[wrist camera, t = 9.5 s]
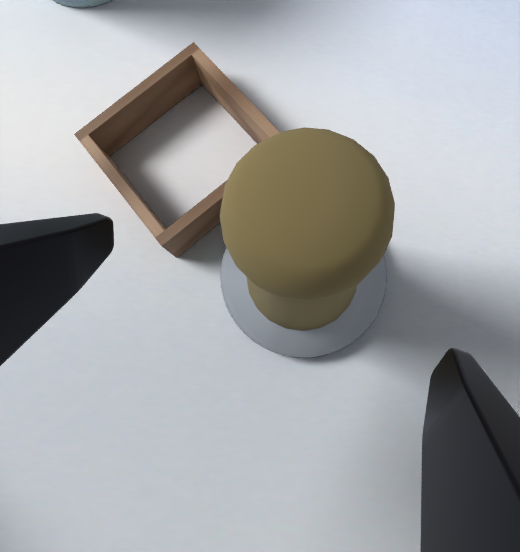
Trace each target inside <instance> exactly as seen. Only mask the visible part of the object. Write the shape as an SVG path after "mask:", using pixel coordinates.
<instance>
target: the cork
mask: <svg viewBox="0 0 520 552" xmlns="http://www.w3.org/2000/svg"><path fill="white" fill-rule="evenodd" d="M394 208H395V203H394V199H393V195H392V191H391V187H390V183H389V179H388V177H387V175H386V174H385V172H384V171H383V169H382V168H381V166H380V164H379V163H378V161H377V160H376V158H375V157H374V156H373V155H372V154H371V153H369V152H368V151H367V150H366V149H364V148H363V147H362V146H361V145H359V144H358V143H357V142H356V141H354V140H353V139H351V138H348V137H346V136H343V135H340V134H338V133H335V132H333V131H330V130H326V129H314V128H300V129H295V130H290V131H285V132H280V133H278V134H276V135H274V136H272V137H270V138H268V139H266V140H264V141H262V142H260V143H259V144H257V145H255V146H254V147H253V148H252V149H251V150H250V151H249V152H248V153H247V154H246V155H245V156H244V157H243V158H242V159H241V160H240V161H238V162H237V164H236V166H235V167H234V169H233V171H232V173H231V175H230V177H229V179H228V180H227V182H226V184H225V188H224V193H223V199H222V204H221V210H220V222H221V228H222V235H223V242H224V244H225V246H226V248H227V249H228V251H229V253H230V255H231V257H232V259H233V261H234V263H235V265H236V266H237V267H238V269H239V270H240V271H241V272H242V273H243V274H245V275H246V277H247V284H248V290H249V294H250V296H251V298H252V300H253V302H254V304H255V306H256V308H257V309H258V310H259V311H260V312H261V313H262V314H263V315H264V316H265V317H266V318H267V319H268V320H269V321H271V322H273V323H275V324H277V325H279V326H281V327H283V328H286V329H293V330H300V331H306V330H312V329H317V328H321V327H323V326H325V325H327V324H329V323H331V322H333V321H335V320H337V318H338V317H339V316H340V315H341V314H342V313H343V312H344V311H345V310H346V309H347V308H348V307H349V305H350V303H351V301H352V299H353V296H354V294H355V292H356V288H357V285H358V284H359V283H360V282H361V281H362V280H363V279H364V278H365V277H366V276H367V275H368V274H369V273H370V272H371V271H372V270H373V268H374V267H375V266H376V265H377V264H378V263H379V262H380V261H381V259H382V257H383V255H384V253H385V250H386V248H387V246H388V244H389V242H390V240H391V237H392V231H393V220H394Z"/></svg>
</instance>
